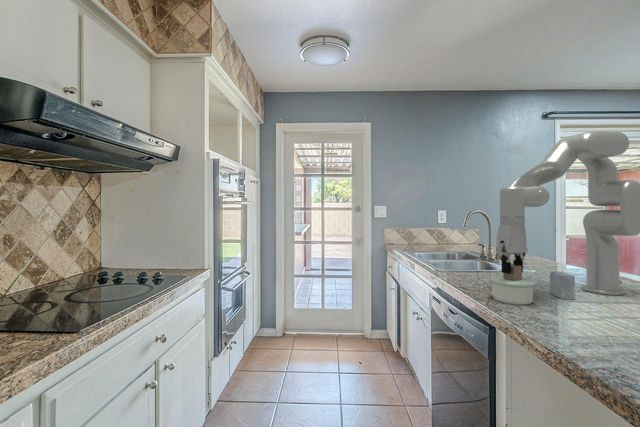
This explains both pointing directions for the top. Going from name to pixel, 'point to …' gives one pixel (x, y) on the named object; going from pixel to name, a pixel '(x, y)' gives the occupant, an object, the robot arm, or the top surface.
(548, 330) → the top surface
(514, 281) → the lid
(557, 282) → the medicine box
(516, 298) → the bowl
